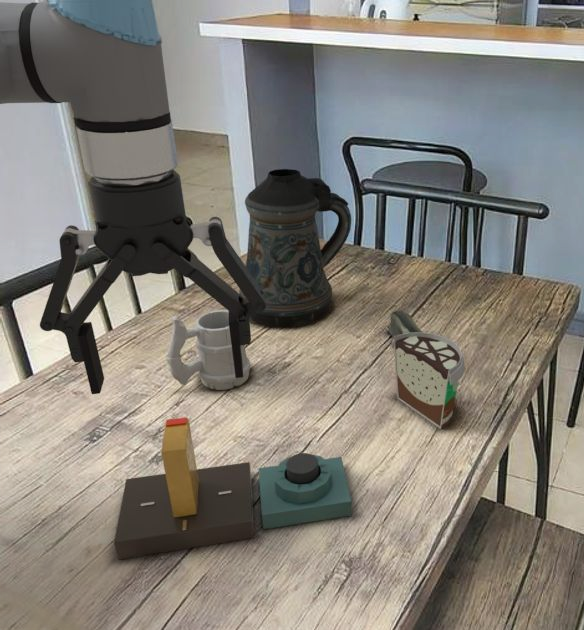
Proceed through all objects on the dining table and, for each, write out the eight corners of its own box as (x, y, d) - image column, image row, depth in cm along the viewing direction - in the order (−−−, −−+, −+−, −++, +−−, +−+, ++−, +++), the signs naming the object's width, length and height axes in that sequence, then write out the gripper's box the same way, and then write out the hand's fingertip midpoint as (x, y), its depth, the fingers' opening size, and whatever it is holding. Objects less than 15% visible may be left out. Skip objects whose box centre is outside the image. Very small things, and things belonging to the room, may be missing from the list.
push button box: (263, 529, 76) (260, 502, 74) (260, 482, 83) (257, 456, 81) (351, 515, 78) (351, 488, 76) (341, 470, 85) (340, 444, 83)
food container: (480, 417, 96) (485, 356, 91) (448, 434, 92) (451, 371, 87) (422, 379, 104) (424, 322, 99) (390, 394, 100) (391, 335, 96)
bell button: (288, 487, 77) (287, 475, 76) (286, 466, 80) (285, 455, 79) (320, 482, 78) (319, 470, 77) (316, 462, 81) (316, 450, 80)
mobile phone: (440, 343, 104) (398, 301, 116) (422, 348, 103) (381, 304, 114) (438, 371, 106) (397, 327, 118) (421, 375, 105) (381, 330, 117)
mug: (260, 380, 103) (252, 309, 97) (182, 406, 96) (169, 332, 91) (239, 358, 108) (231, 290, 102) (164, 382, 102) (151, 310, 96)
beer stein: (222, 307, 123) (205, 171, 112) (306, 276, 136) (299, 151, 125) (279, 339, 114) (267, 194, 102) (363, 302, 126) (361, 170, 115)
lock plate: (118, 559, 72) (113, 541, 70) (129, 495, 80) (125, 477, 79) (254, 537, 75) (252, 519, 74) (251, 477, 83) (249, 460, 82)
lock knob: (196, 514, 74) (185, 447, 70) (173, 517, 74) (160, 450, 70) (198, 481, 79) (188, 416, 75) (177, 483, 79) (165, 418, 74)
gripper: (276, 155, 65) (291, 347, 75) (-13, 168, 60) (44, 372, 69) (282, 178, 59) (297, 384, 69) (-42, 193, 53) (25, 415, 63)
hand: (170, 378), depth 69 cm, fingers open, 13 cm apart
